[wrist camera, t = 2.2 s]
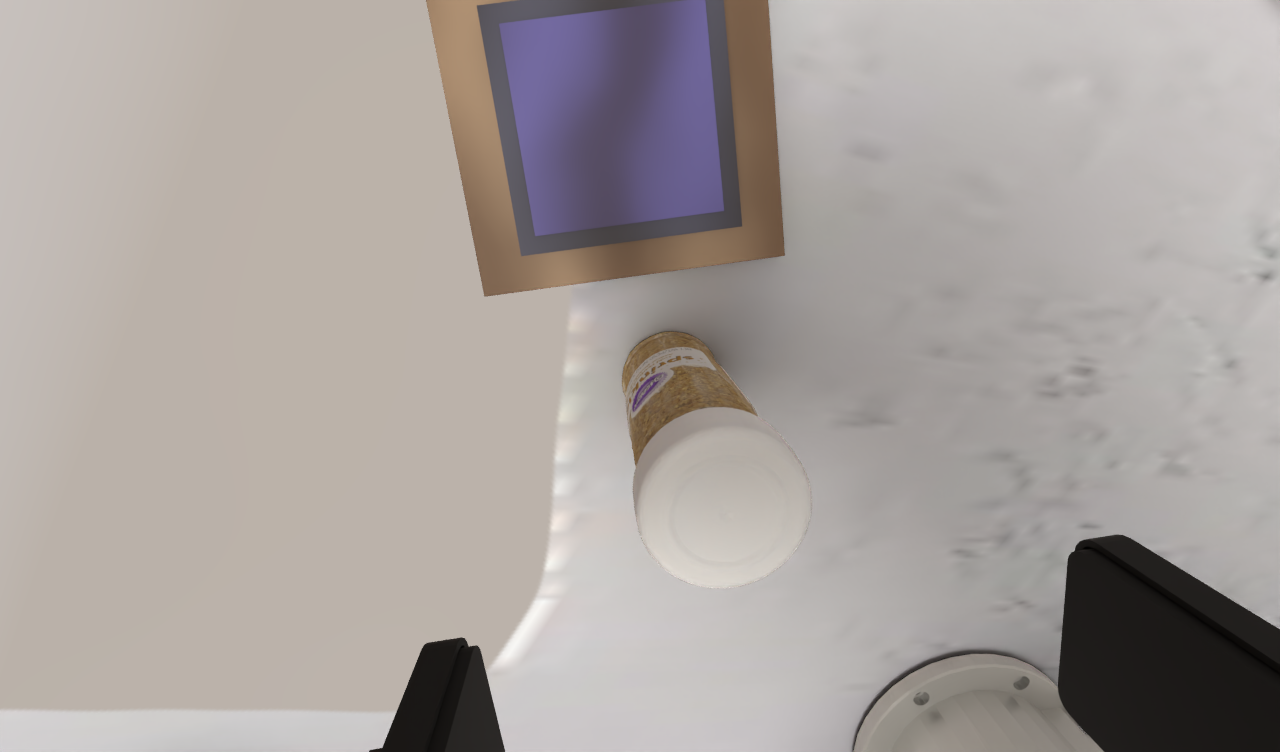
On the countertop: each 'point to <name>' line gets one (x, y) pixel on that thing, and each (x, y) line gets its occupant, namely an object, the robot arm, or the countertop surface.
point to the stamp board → (611, 135)
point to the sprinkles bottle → (708, 469)
